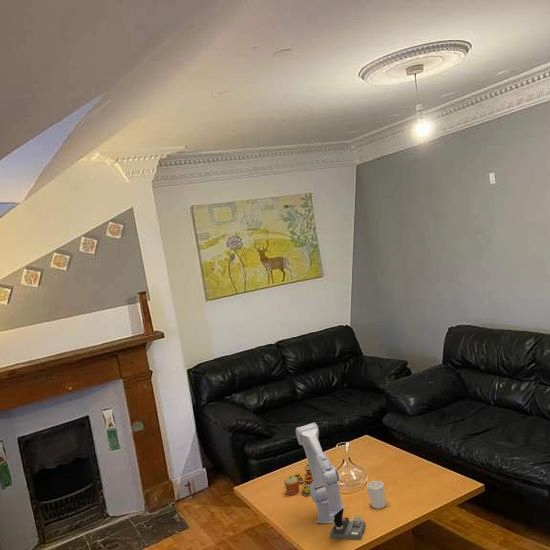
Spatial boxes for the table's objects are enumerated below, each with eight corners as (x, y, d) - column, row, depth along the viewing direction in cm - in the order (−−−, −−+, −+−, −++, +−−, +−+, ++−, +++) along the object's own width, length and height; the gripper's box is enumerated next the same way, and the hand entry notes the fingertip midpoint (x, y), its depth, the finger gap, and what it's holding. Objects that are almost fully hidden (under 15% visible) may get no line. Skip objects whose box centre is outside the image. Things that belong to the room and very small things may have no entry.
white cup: (367, 504, 251) (363, 484, 250) (380, 498, 254) (377, 479, 254) (376, 511, 244) (373, 490, 243) (390, 505, 247) (387, 484, 246)
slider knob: (355, 522, 234) (354, 516, 234) (362, 522, 233) (360, 516, 233) (353, 526, 231) (352, 520, 231) (360, 526, 230) (359, 520, 230)
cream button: (337, 528, 232) (336, 524, 232) (344, 528, 231) (343, 524, 231) (335, 532, 230) (334, 528, 229) (342, 532, 228) (341, 528, 228)
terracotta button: (340, 520, 237) (339, 515, 237) (346, 520, 236) (345, 516, 236) (338, 523, 234) (337, 519, 234) (344, 524, 233) (344, 519, 233)
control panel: (336, 524, 239) (335, 516, 239) (366, 526, 234) (364, 517, 234) (330, 538, 230) (329, 529, 230) (361, 539, 225) (359, 531, 224)
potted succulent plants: (314, 497, 268) (310, 479, 267) (284, 499, 272) (281, 481, 271) (320, 473, 293) (317, 456, 293) (293, 475, 297) (290, 458, 296)
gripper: (338, 505, 221) (343, 536, 222) (346, 488, 234) (352, 517, 235) (322, 505, 224) (327, 535, 225) (331, 488, 237) (336, 517, 238)
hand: (339, 526), depth 230 cm, fingers closed, pressing on cream button
